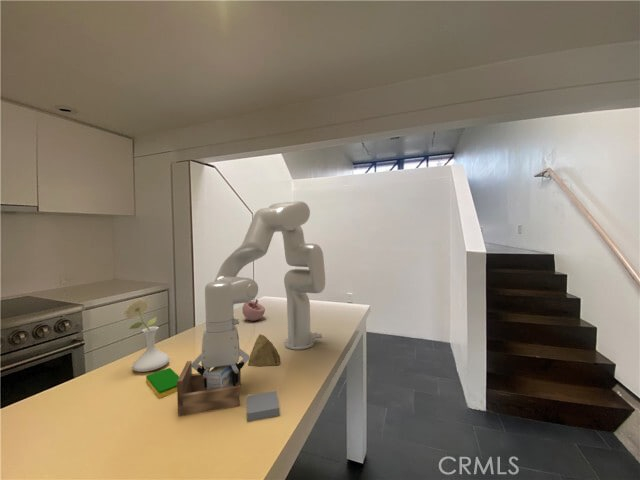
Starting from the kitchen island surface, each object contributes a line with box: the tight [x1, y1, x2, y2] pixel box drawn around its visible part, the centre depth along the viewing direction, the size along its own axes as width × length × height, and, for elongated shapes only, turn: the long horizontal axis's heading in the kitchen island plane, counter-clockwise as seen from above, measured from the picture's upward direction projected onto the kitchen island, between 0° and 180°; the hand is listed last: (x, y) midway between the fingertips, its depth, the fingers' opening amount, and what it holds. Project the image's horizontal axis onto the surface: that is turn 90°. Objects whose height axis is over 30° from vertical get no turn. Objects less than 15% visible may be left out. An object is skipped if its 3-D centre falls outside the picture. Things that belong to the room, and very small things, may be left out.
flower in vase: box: [123, 298, 170, 373], centre depth 97 cm, size 13×11×25 cm
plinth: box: [246, 390, 280, 422], centre depth 73 cm, size 8×8×2 cm
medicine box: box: [207, 365, 233, 390], centre depth 79 cm, size 8×4×9 cm, turn 169°
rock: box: [247, 333, 281, 367], centre depth 98 cm, size 11×9×10 cm
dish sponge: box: [145, 367, 180, 399], centre depth 86 cm, size 7×14×2 cm, turn 46°
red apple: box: [242, 299, 266, 322], centre depth 150 cm, size 12×12×12 cm
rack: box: [176, 360, 242, 417], centre depth 78 cm, size 15×12×9 cm
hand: (221, 386), depth 79 cm, fingers closed on medicine box, 6 cm apart
